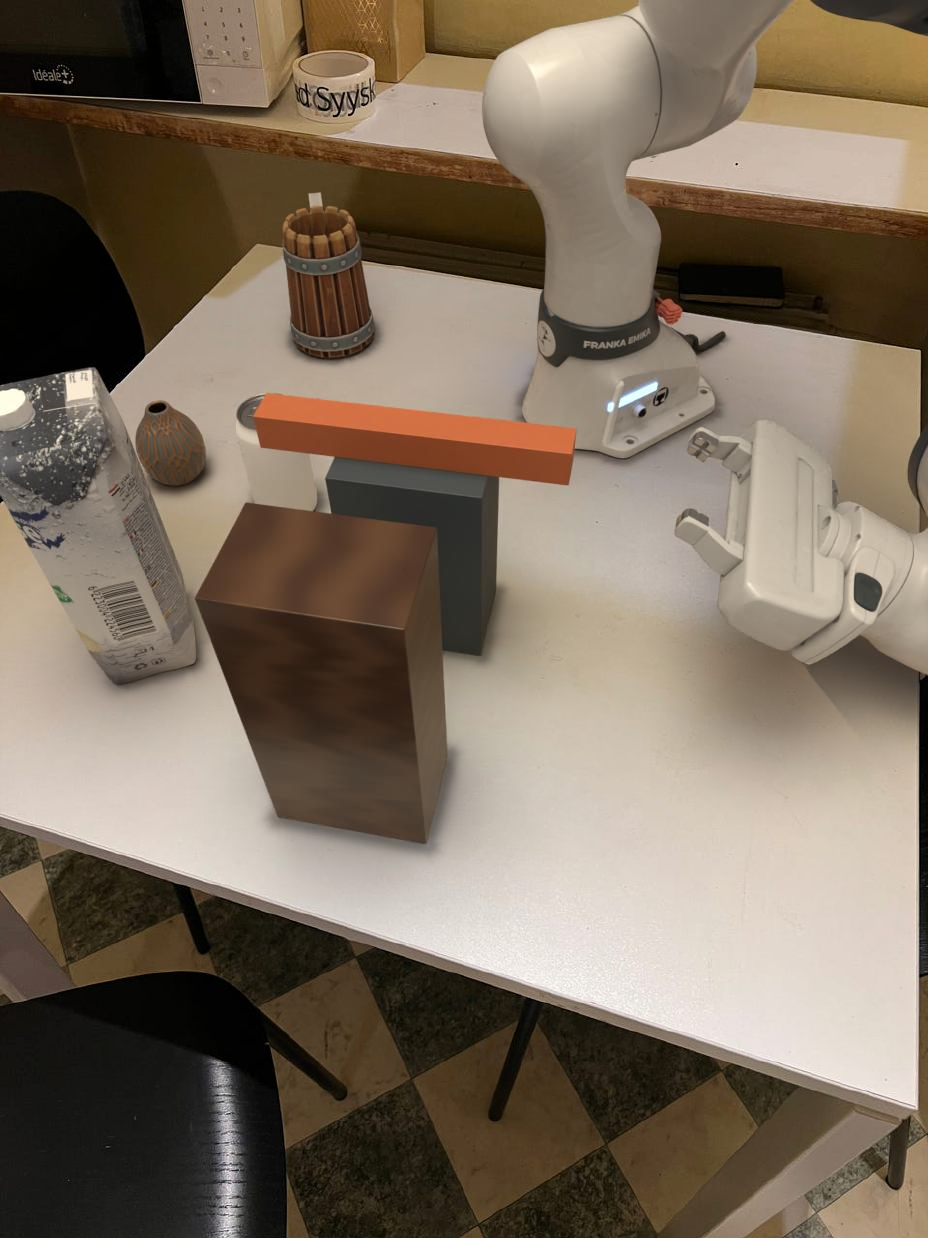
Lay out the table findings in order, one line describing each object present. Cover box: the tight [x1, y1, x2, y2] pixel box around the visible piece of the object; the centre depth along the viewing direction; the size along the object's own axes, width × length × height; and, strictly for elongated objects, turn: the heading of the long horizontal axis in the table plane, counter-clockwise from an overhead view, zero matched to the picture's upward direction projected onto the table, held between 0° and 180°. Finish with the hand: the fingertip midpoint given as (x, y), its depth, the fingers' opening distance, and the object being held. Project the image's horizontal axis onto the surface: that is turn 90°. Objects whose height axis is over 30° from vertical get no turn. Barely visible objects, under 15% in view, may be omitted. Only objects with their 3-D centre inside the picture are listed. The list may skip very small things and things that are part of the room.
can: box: [235, 392, 318, 511], centre depth 86 cm, size 6×6×12 cm
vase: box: [134, 399, 207, 487], centre depth 91 cm, size 7×7×9 cm
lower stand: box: [324, 457, 500, 657], centre depth 74 cm, size 12×8×19 cm, turn 79°
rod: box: [253, 392, 577, 486], centre depth 65 cm, size 24×3×3 cm, turn 79°
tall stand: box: [194, 501, 448, 844], centre depth 59 cm, size 12×8×26 cm, turn 79°
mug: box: [281, 192, 375, 359], centre depth 107 cm, size 16×11×15 cm
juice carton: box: [0, 366, 197, 685], centre depth 69 cm, size 9×10×27 cm
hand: (686, 477), depth 64 cm, fingers open, 8 cm apart
